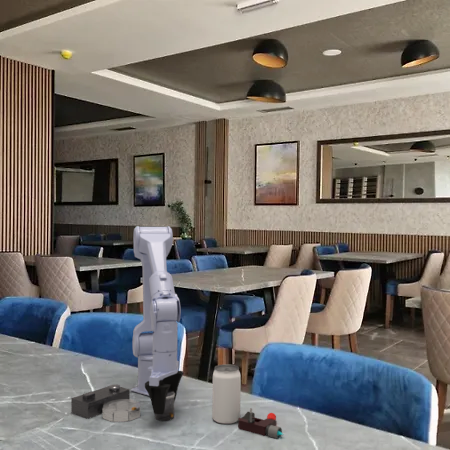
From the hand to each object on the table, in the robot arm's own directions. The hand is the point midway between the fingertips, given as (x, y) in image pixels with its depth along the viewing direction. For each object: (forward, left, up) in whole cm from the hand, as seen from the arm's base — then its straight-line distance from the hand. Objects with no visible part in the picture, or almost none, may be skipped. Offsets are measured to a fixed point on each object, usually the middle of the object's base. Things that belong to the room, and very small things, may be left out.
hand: (164, 407), depth 125 cm
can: (-8, +12, -3) cm, 15 cm away
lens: (0, 0, -2) cm, 2 cm away
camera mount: (+5, -12, -2) cm, 13 cm away
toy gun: (-10, +22, -3) cm, 24 cm away
